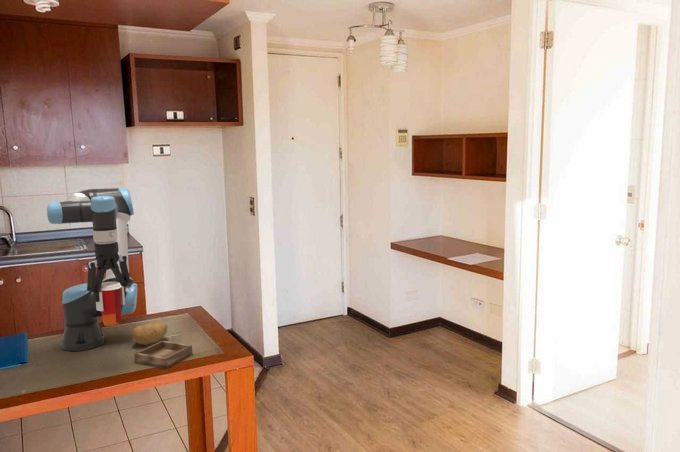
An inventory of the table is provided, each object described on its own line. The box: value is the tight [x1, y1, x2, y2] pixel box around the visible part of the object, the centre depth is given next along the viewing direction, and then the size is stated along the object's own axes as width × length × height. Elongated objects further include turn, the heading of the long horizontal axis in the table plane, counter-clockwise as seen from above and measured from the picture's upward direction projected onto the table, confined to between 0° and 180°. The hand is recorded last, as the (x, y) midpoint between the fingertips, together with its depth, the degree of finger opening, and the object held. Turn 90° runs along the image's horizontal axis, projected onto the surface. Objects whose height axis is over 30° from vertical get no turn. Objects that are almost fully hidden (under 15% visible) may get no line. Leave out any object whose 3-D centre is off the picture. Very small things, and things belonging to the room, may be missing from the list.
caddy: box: [134, 340, 193, 370], centre depth 196 cm, size 14×14×4 cm
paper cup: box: [99, 282, 122, 327], centre depth 187 cm, size 8×8×14 cm
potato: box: [131, 321, 169, 346], centre depth 212 cm, size 10×14×8 cm
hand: (111, 307), depth 187 cm, fingers closed on paper cup, 8 cm apart
